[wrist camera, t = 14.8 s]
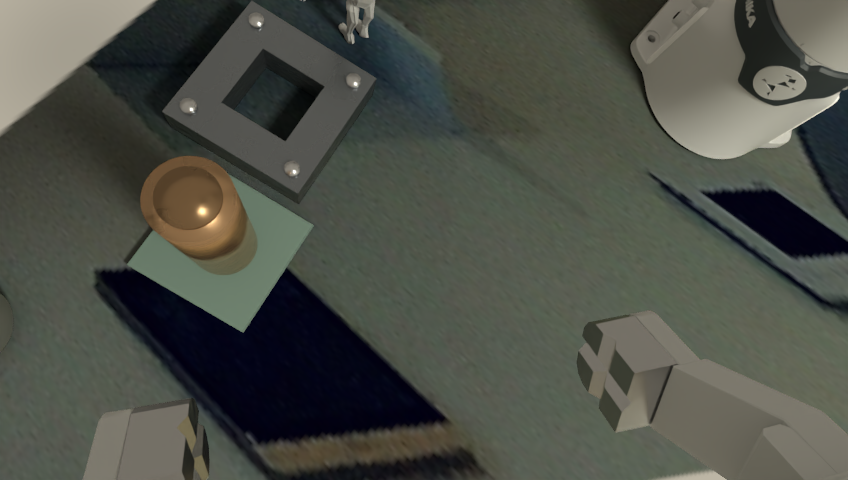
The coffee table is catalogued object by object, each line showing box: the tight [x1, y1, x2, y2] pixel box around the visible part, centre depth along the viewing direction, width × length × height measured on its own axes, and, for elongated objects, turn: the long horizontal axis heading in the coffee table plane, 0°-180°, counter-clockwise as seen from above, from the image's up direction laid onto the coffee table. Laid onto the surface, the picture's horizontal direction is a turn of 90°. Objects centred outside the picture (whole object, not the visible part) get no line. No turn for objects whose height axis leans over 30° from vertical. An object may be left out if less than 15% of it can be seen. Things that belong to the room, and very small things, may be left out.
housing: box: [162, 1, 376, 204], centre depth 45 cm, size 12×12×3 cm
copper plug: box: [140, 156, 257, 275], centre depth 37 cm, size 5×5×13 cm
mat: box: [127, 173, 313, 333], centre depth 43 cm, size 10×10×1 cm
